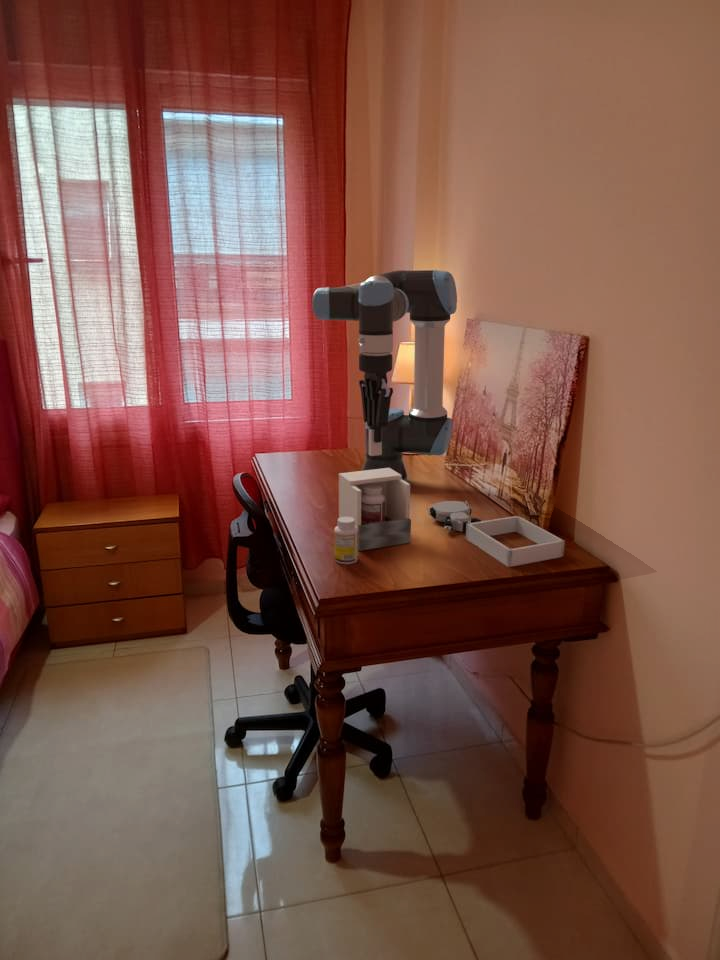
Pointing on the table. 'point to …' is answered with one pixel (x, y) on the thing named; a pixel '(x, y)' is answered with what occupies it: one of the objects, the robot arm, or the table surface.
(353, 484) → the caddy
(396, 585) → the table surface
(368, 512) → the pill bottle
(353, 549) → the supplement bottle
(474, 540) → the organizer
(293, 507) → the table surface
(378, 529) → the drawer
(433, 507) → the robot toy
